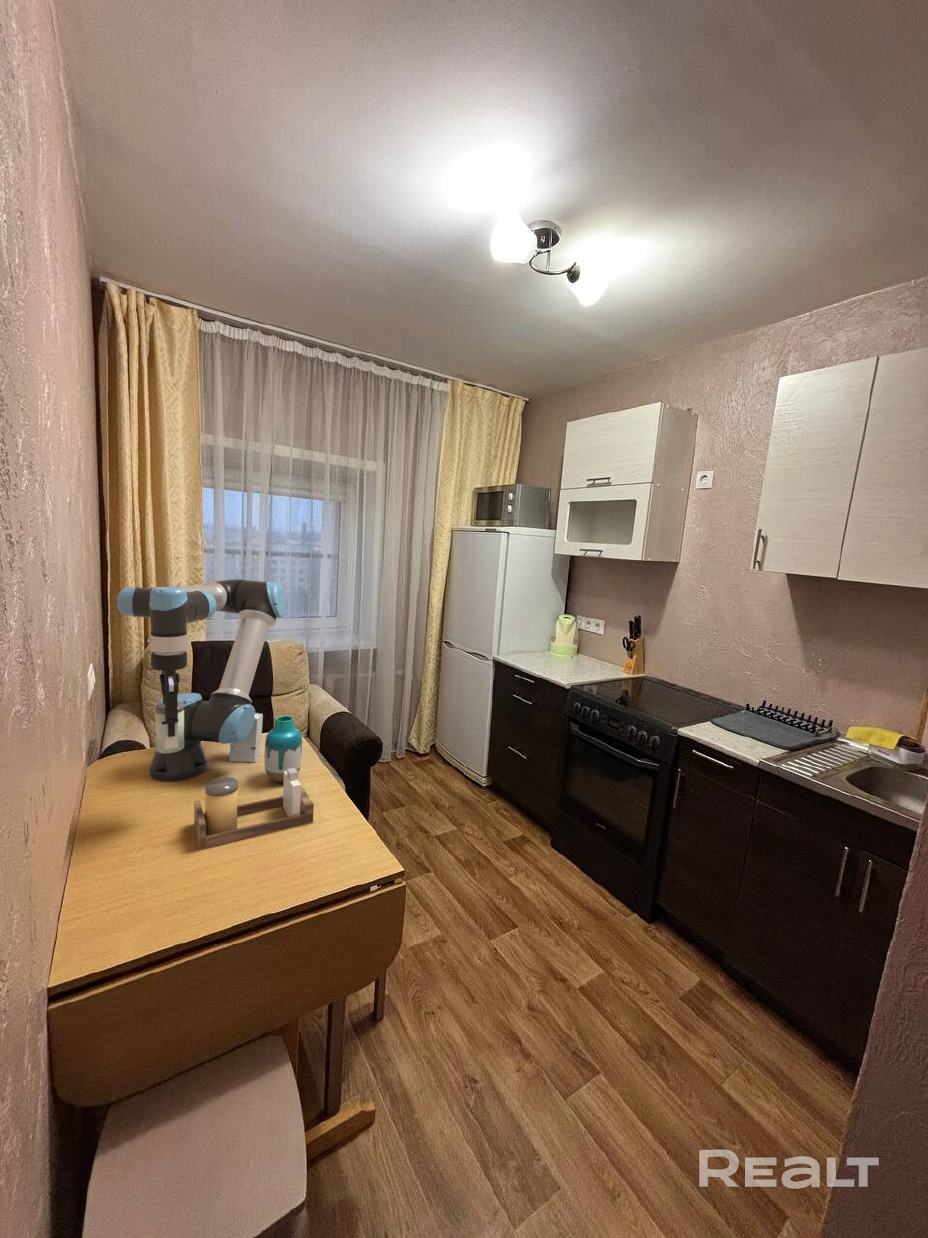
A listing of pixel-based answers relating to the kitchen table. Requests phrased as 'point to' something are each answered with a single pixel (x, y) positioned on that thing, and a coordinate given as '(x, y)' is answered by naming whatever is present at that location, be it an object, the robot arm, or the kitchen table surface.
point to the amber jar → (221, 805)
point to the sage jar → (160, 728)
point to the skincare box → (248, 744)
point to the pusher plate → (291, 792)
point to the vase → (282, 748)
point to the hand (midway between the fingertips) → (170, 742)
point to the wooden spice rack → (256, 829)
